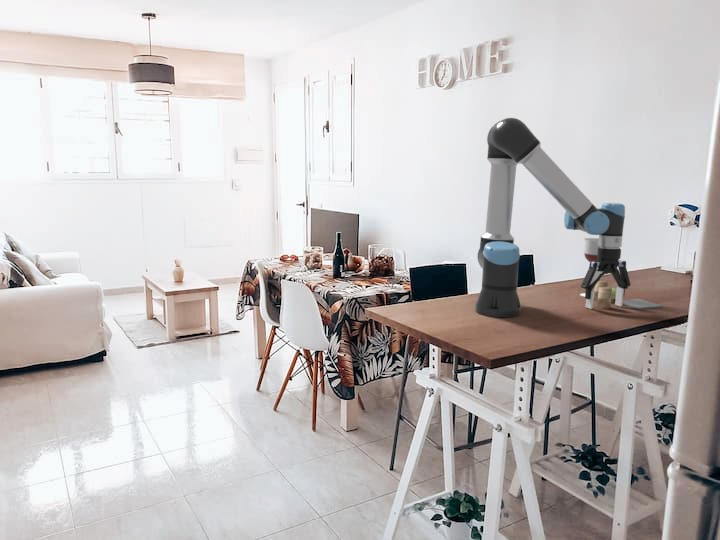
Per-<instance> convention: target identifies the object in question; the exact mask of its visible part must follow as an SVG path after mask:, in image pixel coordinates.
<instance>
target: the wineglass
mask: <svg viewBox="0 0 720 540" xmlns="http://www.w3.org/2000/svg"><path fill="white" fill-rule="evenodd" d="M598 242H599V237H598V238H597V237H596V238H595V237H593V238H592V237H589V238H587V237H585V238H583V255H584V258H585V259H586V260H587V261H588V262H589V263H590V262H591V261H592V262H598V257H597V253H598V248H599V247H600V246H599V245H598ZM592 290H593V291H594V288H593V289H592ZM579 296H581V297H584V298H585V292H584V293H580V294H579Z"/></svg>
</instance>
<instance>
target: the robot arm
mask: <svg viewBox="0 0 720 540" xmlns="http://www.w3.org/2000/svg"><path fill="white" fill-rule="evenodd" d="M487 133H488V134H487V138H486V142H487V145H488V147H487V158H486V159H487V161H488V162H489V163H490V174H489V175H490V176H489V187H488V198H487V199H488V200H487V209H486V210H487V211H486V220H485V221H486V222H485V231H484V233H482V235H480V243H479V249H478V251H477V261H478V265H479V266H480V268H481V269H482V278H481V281H482V282H481V290H480V291H479V294H478V297H477V300H476V302H475V307H474V308H475V309H474V310H475V312H476V313H478V314H481V315H483V316H487V317H494V318H496V317H497V318H515V317H517V316H520V315H521V314H522V313H521V312H522V306H521V302H520V298H519V294H518V282H519V281H518V279H519V278H518V277H519V265H520V257H521V253H520V248H519V247H520V246H518V245H517V244H515V243H514V242H515V238H514V237H513V236H512V234H511V227H512V217H513V216H512V215H513V207H514V197H515V196H514V194H515V183H516V172H517V165H520V164H521V165H523V167H525V169H526V170H527V171H528V172H529V173H530V174H531V175H532V176H533V177H534V178H535V179H536V181H538V182H539V184H540V185H541V186H542V187H543V188H544V189H545V190H546V191H547V192H548V193H549V194H550V195H551V197H552V198H553V199H555V201H556V202H557V203H558V204H559V205H560V206H561V207H562V208H563V209H564V210H565V213H564V220H563V222H564V227H565V229H566V230H572V231H575V230H576V231H577V230H578V231H582V232H584V233H586V234H588V235H590V236H592V235H593V236H598V239H599V242H598V245H599V246H600V247H599V248H598V253H597V257H598V262H592V261H591V262H589V267H588V268H587V269H588V270H587V272H586V274H585V276H584V278H583V281H582V283H581V285H580V288H582V289H584V290H585V292H584V293H585V297H584V298H585V308H588V309H590V310H592V309H593V307H594V289H595V285H596V284H597V282H598V281H601V278H602V277H603V276H604V275H609V274H611V275H612V277H613V279H614V281H615V282H616V283H617V285H618V286H617V287H616V288H617V290H616V300H614V305H615V306H618V307H623V305H622V304H623V300H624V297H625V292H626V290H627V289H629V287H631V282H630V278H629V274H628V270H627V261H626V260H622V259H621V258H622V256H621V255H622V249H621V247H622V244H623V235H624V234H623V231H624V224H625V215H626V206H625V204H624V203H618V202H617V203H616V202H603V203H602V204H601V207H600V208H598V207H596V206H595V205H594V203H592V201H591V200H590V199H589V198H588V197H587V196H586V195H585V194H584V193H583V192H582V191H581V189H580V188H579V187H578V186H577V185H576V184H575V183H574V182H573V181H572V180H571V178H569V176H567V174H566V173H565V172H564V171H563V170H562V169H561V168H560V167H559V166H558V165H557V163H556V162H555V161H554V160H553V159H552V158H551V157H550V156H549V155H548V154H547V153H546V152H545V150H544V149H543V148H542V147H541V144H542V143H541V141H540V139H538V138H537V137H536V136H535V134H534V133H533V132H532V131H531V129H530V128H529V127H528V126H527V125H526V124H525V123H524V122H523V121H522V120H520V119H518V118H515V117H506V118H504V119H501V120H499V121H497V122H496V123H494V124H493V126H492V127H491V128H490V129H489V131H488V132H487ZM592 289H593V290H592Z"/></svg>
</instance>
